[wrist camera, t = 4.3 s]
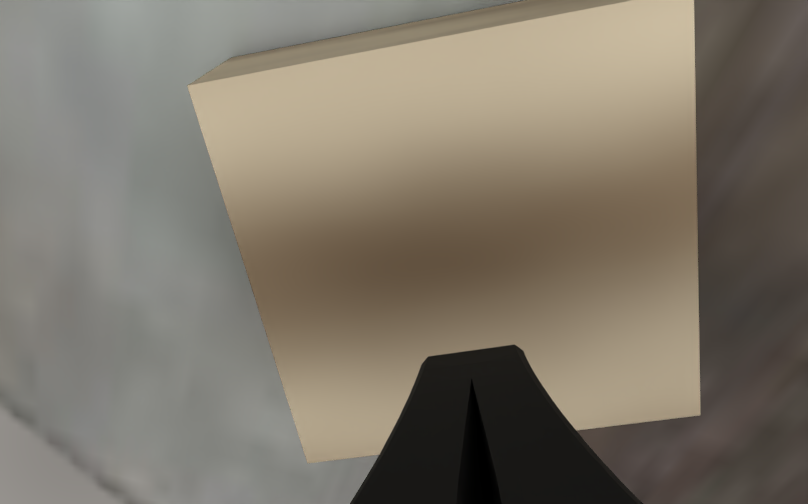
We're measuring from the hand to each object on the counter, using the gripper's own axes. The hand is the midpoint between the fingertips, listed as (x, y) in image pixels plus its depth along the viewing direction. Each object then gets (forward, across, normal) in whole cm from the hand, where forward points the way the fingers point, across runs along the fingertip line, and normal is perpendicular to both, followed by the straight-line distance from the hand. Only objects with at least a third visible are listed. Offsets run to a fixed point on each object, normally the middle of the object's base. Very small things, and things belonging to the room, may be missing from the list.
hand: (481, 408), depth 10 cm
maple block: (+8, 0, 0) cm, 8 cm away
